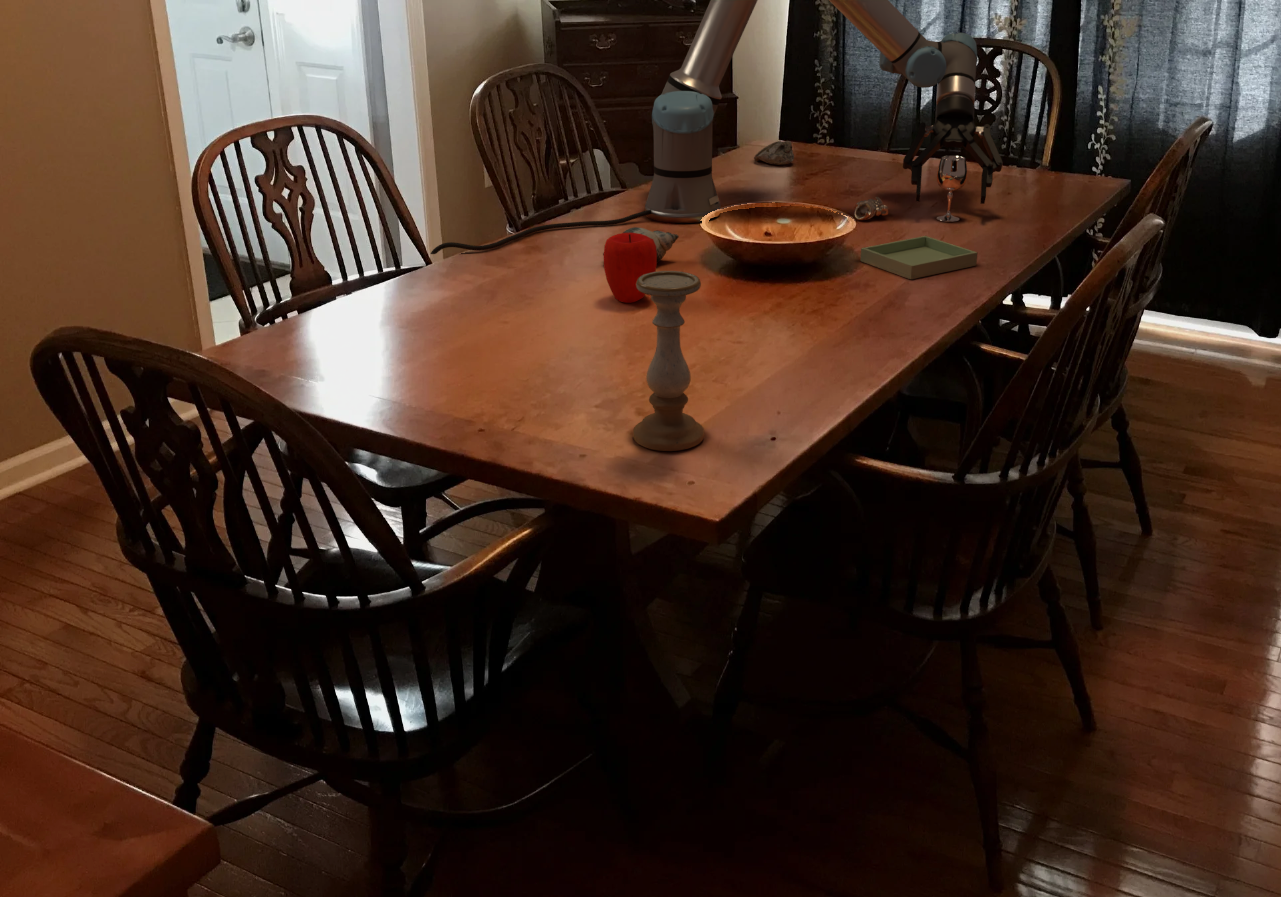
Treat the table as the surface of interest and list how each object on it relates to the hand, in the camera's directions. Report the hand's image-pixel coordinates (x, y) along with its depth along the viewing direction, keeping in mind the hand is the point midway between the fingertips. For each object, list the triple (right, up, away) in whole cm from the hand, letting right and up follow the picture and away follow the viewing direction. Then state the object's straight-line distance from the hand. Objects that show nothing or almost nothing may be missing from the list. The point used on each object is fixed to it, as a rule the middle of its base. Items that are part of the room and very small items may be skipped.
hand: (950, 199), depth 247 cm
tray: (-12, -16, -23) cm, 31 cm away
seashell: (-61, -16, -21) cm, 66 cm away
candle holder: (-57, -47, -90) cm, 117 cm away
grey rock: (-28, +19, +53) cm, 63 cm away
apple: (-62, -24, -40) cm, 78 cm away
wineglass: (+1, -3, +4) cm, 5 cm away
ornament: (-14, -3, +6) cm, 16 cm away
